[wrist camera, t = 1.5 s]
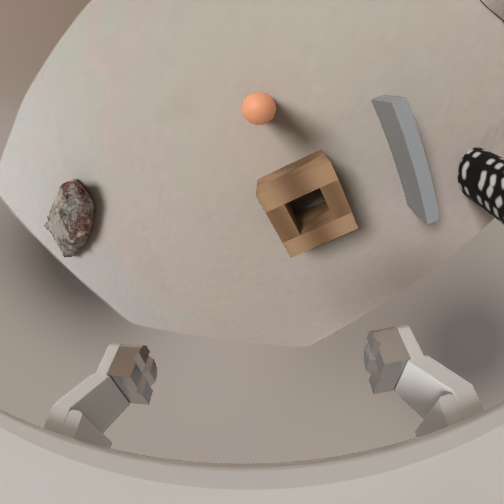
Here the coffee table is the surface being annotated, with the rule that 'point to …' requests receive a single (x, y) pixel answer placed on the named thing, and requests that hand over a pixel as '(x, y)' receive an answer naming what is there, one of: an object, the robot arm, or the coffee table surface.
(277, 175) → the block
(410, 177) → the slab
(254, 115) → the orange rounded capsule
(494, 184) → the white-spotted black cylinder
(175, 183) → the coffee table surface
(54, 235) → the mineral rock
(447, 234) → the coffee table surface
